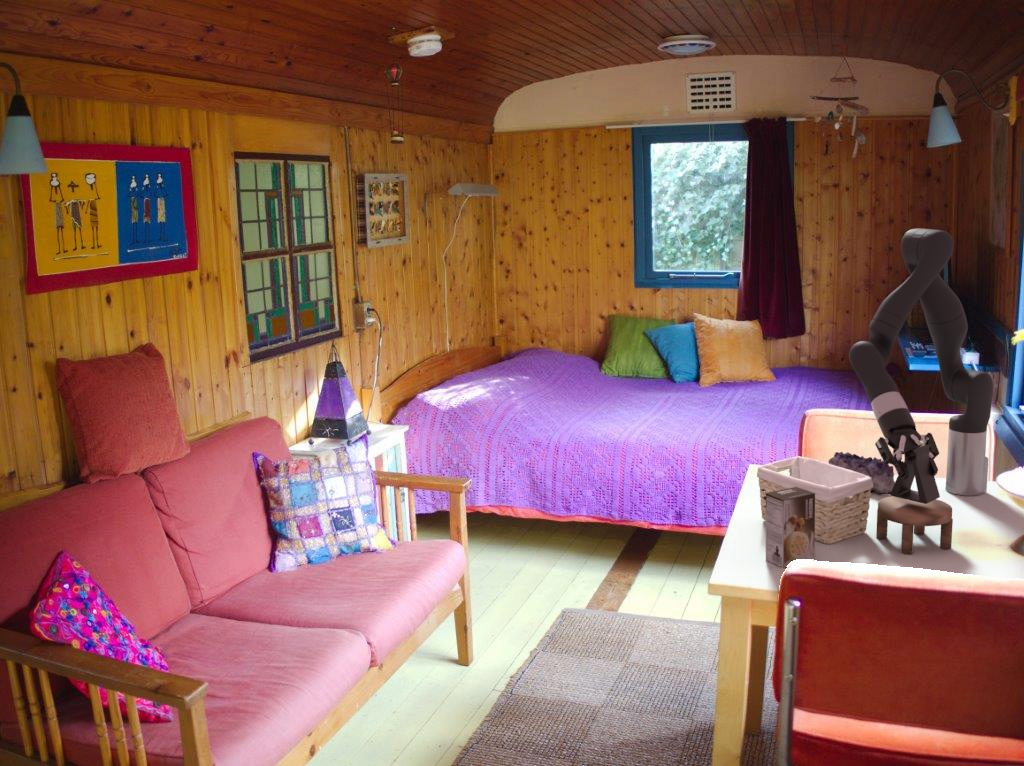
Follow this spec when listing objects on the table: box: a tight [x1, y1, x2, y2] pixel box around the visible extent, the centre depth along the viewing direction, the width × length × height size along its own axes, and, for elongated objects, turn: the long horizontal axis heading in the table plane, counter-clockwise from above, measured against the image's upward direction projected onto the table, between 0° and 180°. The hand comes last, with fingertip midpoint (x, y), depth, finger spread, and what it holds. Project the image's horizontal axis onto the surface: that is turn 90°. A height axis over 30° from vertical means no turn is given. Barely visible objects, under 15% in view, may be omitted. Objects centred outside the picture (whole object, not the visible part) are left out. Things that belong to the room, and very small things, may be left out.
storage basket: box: [756, 455, 873, 545], centre depth 241 cm, size 24×16×15 cm
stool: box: [875, 495, 954, 556], centre depth 229 cm, size 16×16×9 cm
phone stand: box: [890, 444, 941, 504], centre depth 227 cm, size 9×6×12 cm, turn 40°
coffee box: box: [765, 487, 816, 569], centre depth 221 cm, size 9×6×16 cm
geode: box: [828, 451, 896, 495], centre depth 272 cm, size 20×12×10 cm, turn 38°
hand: (920, 476), depth 225 cm, fingers closed on phone stand, 6 cm apart
